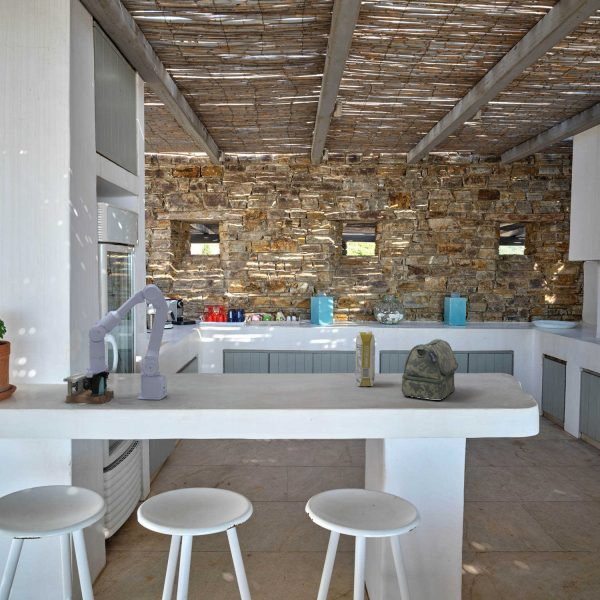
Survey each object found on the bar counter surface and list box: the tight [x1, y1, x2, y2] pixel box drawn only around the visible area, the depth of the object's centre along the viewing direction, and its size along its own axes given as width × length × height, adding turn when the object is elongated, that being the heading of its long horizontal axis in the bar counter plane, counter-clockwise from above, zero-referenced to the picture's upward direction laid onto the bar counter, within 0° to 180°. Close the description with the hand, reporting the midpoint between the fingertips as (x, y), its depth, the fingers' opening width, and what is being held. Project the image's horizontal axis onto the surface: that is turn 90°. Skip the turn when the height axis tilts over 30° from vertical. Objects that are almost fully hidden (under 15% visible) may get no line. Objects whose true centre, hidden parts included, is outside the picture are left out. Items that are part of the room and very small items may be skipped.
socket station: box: [63, 373, 115, 405], centre depth 212 cm, size 16×10×9 cm, turn 85°
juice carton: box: [354, 330, 376, 387], centre depth 241 cm, size 9×8×24 cm
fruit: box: [72, 376, 110, 392], centre depth 227 cm, size 9×8×15 cm
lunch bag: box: [401, 338, 459, 399], centre depth 226 cm, size 26×18×22 cm
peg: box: [93, 377, 105, 395], centre depth 211 cm, size 4×4×8 cm
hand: (98, 392), depth 211 cm, fingers closed on peg, 4 cm apart
